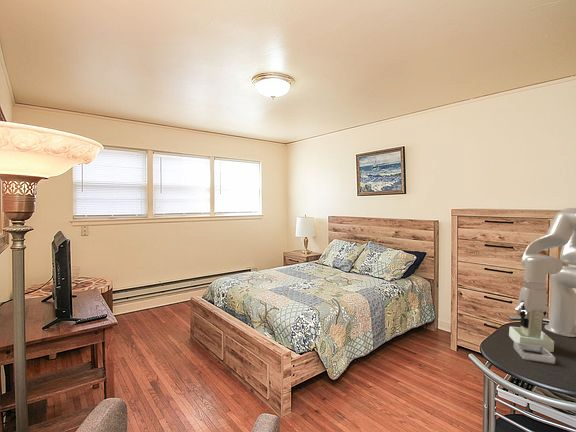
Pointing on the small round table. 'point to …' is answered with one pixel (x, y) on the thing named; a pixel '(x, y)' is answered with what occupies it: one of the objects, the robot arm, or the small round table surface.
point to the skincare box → (533, 323)
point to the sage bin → (531, 339)
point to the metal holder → (546, 356)
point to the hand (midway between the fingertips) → (531, 326)
